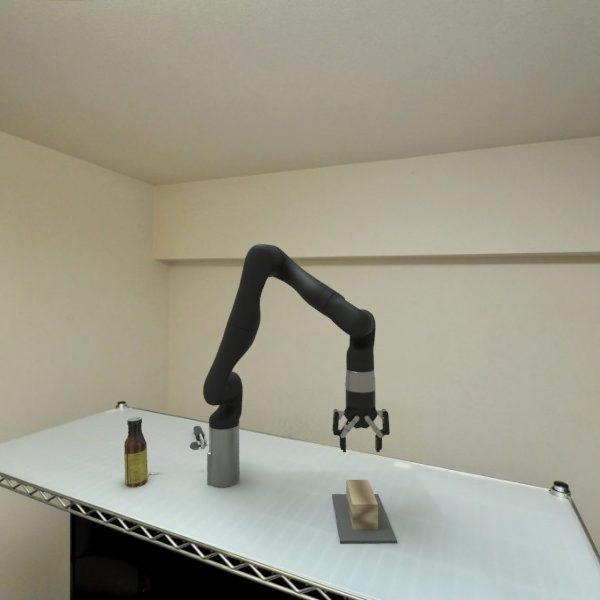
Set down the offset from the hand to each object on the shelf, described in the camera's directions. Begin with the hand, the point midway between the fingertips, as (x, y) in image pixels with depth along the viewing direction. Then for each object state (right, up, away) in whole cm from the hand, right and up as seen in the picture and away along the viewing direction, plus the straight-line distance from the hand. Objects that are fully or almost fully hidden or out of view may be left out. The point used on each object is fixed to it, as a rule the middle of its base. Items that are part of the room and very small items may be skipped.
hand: (360, 451), depth 92 cm
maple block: (0, -16, 0) cm, 16 cm away
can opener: (-55, -18, +48) cm, 75 cm away
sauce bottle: (-65, -17, +17) cm, 69 cm away
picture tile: (0, -17, 0) cm, 17 cm away
